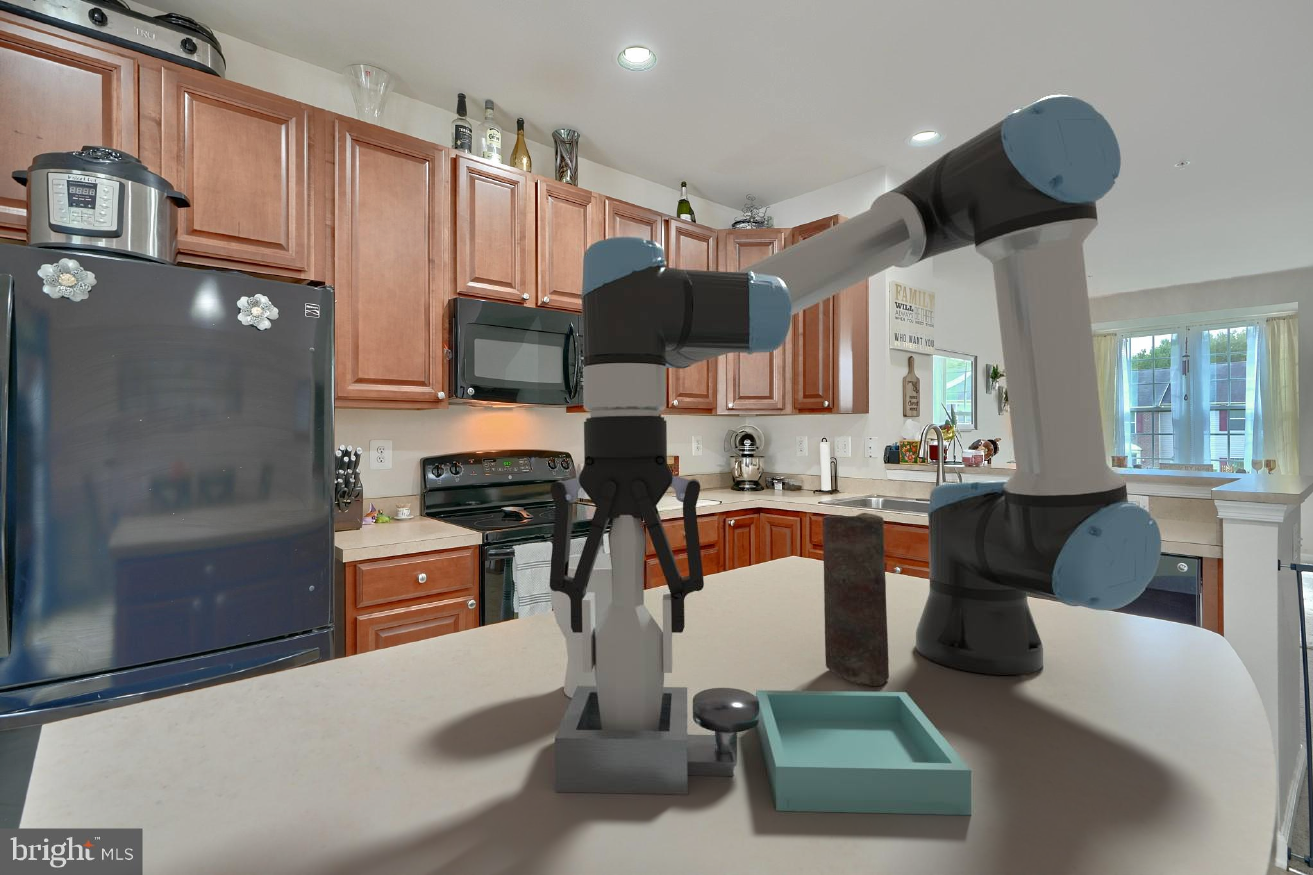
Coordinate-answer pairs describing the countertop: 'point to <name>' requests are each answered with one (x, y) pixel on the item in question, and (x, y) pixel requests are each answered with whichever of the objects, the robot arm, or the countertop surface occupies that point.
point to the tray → (858, 754)
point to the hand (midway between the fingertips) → (628, 666)
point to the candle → (855, 598)
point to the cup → (562, 611)
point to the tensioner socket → (651, 743)
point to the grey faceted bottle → (628, 639)
